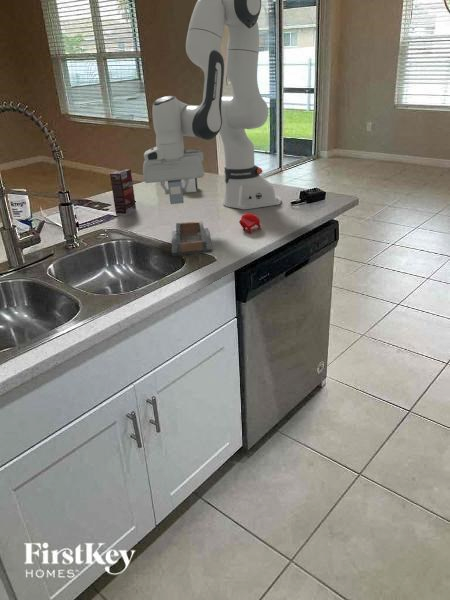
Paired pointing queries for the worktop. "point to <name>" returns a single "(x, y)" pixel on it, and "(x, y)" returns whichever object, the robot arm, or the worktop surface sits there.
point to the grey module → (175, 192)
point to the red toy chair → (249, 221)
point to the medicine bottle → (190, 185)
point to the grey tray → (190, 239)
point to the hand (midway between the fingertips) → (176, 193)
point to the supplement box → (123, 192)
